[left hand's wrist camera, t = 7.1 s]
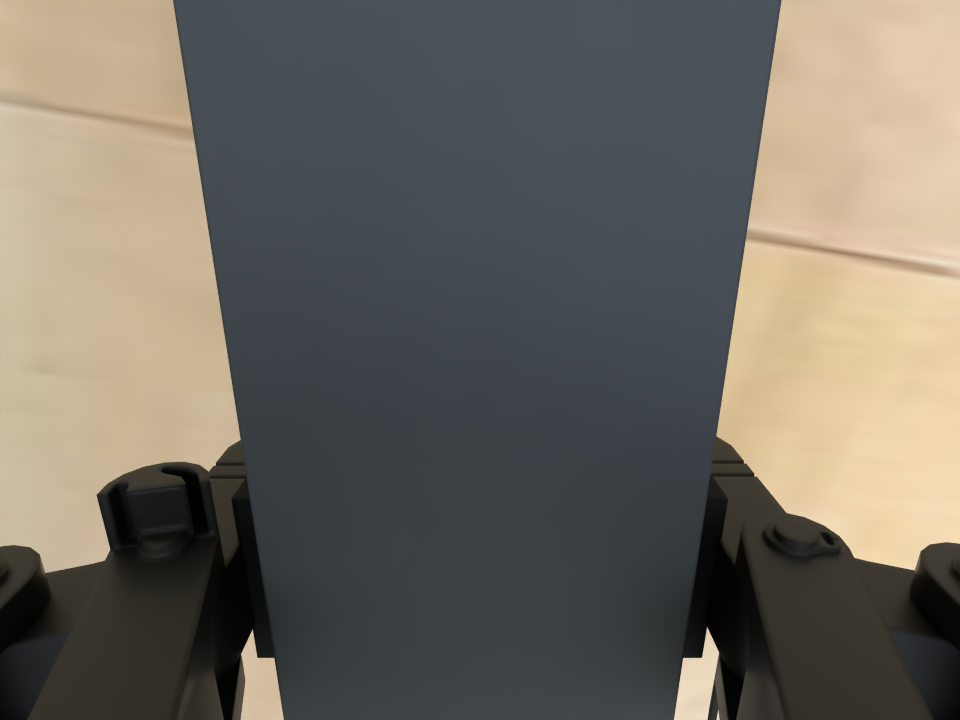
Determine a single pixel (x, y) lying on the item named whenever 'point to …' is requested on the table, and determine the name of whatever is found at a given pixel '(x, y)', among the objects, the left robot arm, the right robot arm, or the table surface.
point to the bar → (478, 333)
